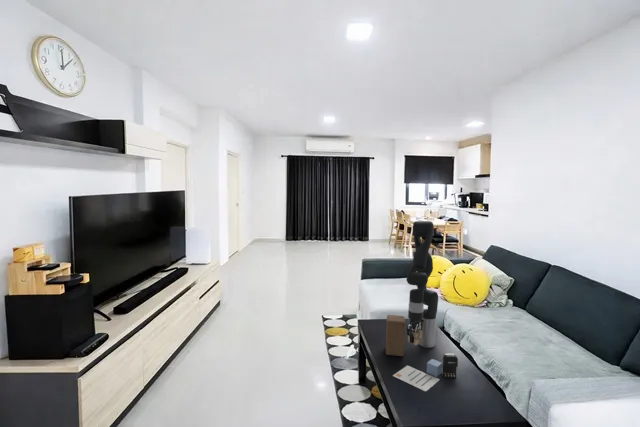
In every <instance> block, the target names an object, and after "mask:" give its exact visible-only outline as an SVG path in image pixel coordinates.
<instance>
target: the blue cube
mask: <svg viewBox="0 0 640 427" xmlns="http://www.w3.org/2000/svg"><path fill="white" fill-rule="evenodd" d="M426 374H428V375H431V376H433V377H435V378H438V377H440V376H441V375H442V361H438V360H436V359H433V358H431V359H430V360H428V361H427V362H426Z"/></svg>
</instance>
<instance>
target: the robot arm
mask: <svg viewBox="0 0 640 427" xmlns="http://www.w3.org/2000/svg"><path fill="white" fill-rule="evenodd" d="M434 232H435V227H434V223H433V221H430V220H426V221H425V220H417V221H414V222H413V225H412V233H413V241H414V247H415V252H414V253H413V258H412V264H411V267H410V269H409V270H408V272H407V275H406V282H407V284H408V285H411V286H416V287H417V288H412V289H410V290H409V297H408V298H409V299H408V300H409V301H408V311H407V312H408V313H407V315H408V316H407V317H408V319H409V324H406V325H405V328H406V335H407V336H408V335H409V336H410V344H412V343H414V335H415V332H416V330H419V331H422V336H421V343H419V344H418V345H419V346H421V347H423V348H426V349H431V348H434V347H435V344H436V327H437V326H436V322H437V313H438V305H439V294H438V292H437V291H435V290H432V289H431V290H430V289H427V284H428V281H429V278H430V276H431V274H432V273H433V270H434V261H433V256H432V255H431V253H430V252H429V250H430V248H431V244H432V241H433V237H434ZM421 238H424V240H423V242H422V239H421ZM424 306H427V308H424ZM412 329H414V330H412ZM412 331H413V334H412Z"/></svg>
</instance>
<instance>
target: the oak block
mask: <svg viewBox="0 0 640 427" xmlns="http://www.w3.org/2000/svg"><path fill="white" fill-rule="evenodd" d="M412 330H414V329H412ZM412 334H413V331H412ZM421 336H422V331H419V330H416V332H415V335H414V343H410V336H409V335H407V343H410V344H412V345H415V346H417V345H419V343H421Z"/></svg>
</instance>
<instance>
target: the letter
mask: <svg viewBox="0 0 640 427" xmlns="http://www.w3.org/2000/svg"><path fill="white" fill-rule="evenodd" d="M392 377H393V378H396V379H398V380H401V381H402V382H404V383H407V384H409V385H411V386H413V387H415V388H417V389H419V390H421V391H422V392H428V391H429V390H430V389H431V388H432V387H433V386H435V385H436V384H437V383H438V382H439V381H440V378H438V377H435V376H433V375H431V374H428V373H427V372H426V373H425V372H423V371H421V370H419V369H416V368H414V367H413V366H410V365H405V366H404V367H403V368H401V369H400V370H399V371H397V372H396V373H394V374H393V375H392Z"/></svg>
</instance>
